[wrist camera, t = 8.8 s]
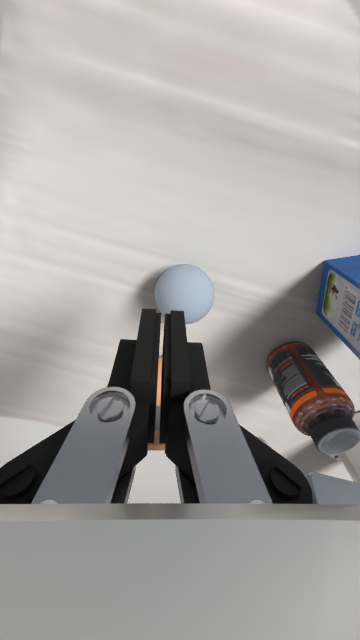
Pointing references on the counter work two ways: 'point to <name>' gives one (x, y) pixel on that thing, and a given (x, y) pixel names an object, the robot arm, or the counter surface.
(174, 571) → the robot arm
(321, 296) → the milk carton
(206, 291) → the light blue ball
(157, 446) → the rail
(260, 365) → the counter surface
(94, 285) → the counter surface
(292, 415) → the supplement bottle
